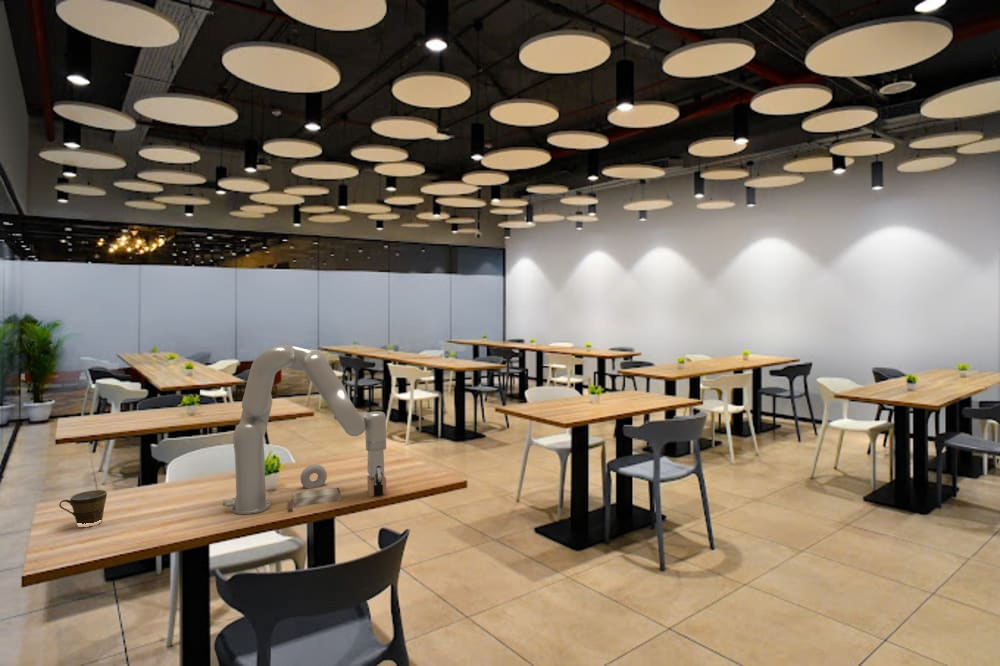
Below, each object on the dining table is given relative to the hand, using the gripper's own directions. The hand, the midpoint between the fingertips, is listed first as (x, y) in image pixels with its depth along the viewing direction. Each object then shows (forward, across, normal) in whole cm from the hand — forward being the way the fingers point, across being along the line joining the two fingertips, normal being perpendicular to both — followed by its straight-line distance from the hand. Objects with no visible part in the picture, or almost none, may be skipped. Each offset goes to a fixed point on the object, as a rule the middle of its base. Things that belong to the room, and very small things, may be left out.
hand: (377, 492), depth 218 cm
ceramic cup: (+2, -9, -94) cm, 95 cm away
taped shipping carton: (0, 0, 0) cm, 0 cm away
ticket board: (+2, 0, -14) cm, 14 cm away
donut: (+2, -18, -22) cm, 28 cm away
